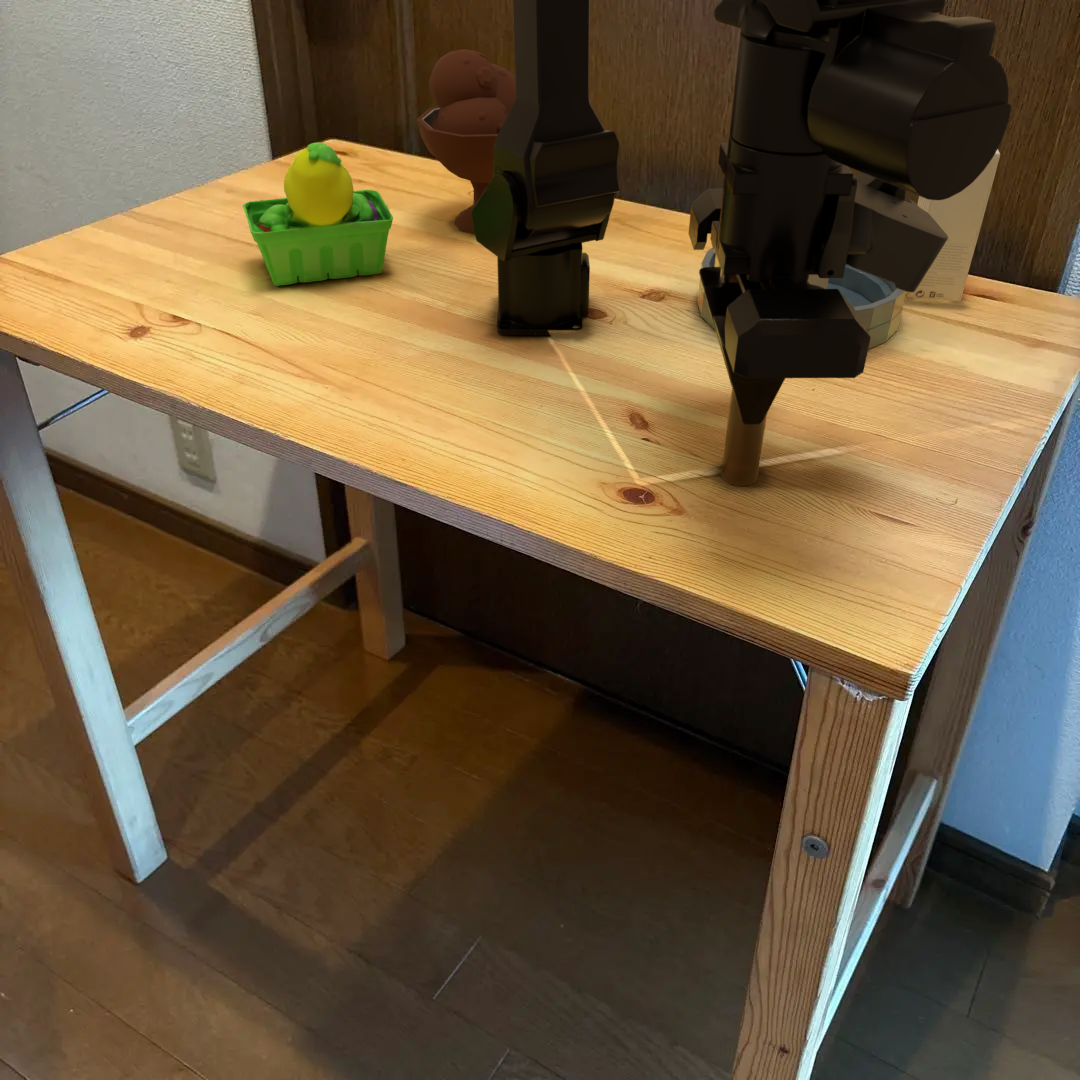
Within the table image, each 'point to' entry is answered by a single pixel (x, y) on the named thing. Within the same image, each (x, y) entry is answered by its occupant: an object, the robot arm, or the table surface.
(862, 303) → the bowl
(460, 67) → the ice cream bowl
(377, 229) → the fruit basket
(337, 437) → the table surface
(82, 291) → the table surface
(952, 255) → the cosmetic box
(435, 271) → the table surface
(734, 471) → the stick
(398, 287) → the table surface
